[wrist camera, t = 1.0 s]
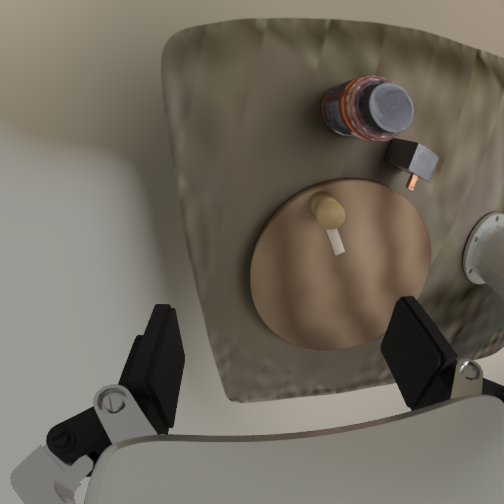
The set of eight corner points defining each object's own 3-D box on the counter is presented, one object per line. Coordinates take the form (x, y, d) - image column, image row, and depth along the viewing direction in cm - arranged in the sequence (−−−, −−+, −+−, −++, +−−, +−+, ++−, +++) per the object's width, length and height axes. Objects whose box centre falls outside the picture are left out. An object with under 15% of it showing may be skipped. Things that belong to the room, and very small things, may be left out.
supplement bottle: (344, 146, 29) (388, 162, 19) (308, 106, 27) (339, 99, 17) (380, 115, 27) (435, 118, 17) (346, 74, 25) (392, 56, 15)
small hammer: (411, 149, 29) (439, 157, 23) (397, 182, 31) (422, 196, 25) (392, 137, 28) (418, 143, 23) (378, 172, 30) (401, 184, 25)
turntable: (402, 149, 28) (432, 158, 22) (430, 300, 38) (449, 326, 32) (215, 229, 33) (207, 254, 27) (291, 360, 42) (295, 392, 36)
